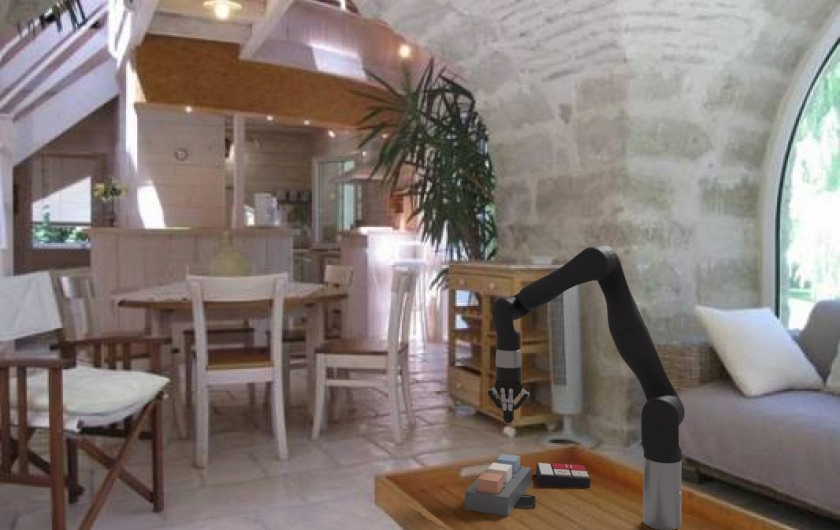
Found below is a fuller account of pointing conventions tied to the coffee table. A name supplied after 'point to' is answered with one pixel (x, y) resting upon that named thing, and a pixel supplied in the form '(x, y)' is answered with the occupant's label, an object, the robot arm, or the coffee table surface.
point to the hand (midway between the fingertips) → (508, 422)
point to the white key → (502, 471)
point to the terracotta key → (490, 483)
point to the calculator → (562, 475)
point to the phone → (526, 501)
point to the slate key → (510, 461)
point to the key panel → (505, 499)
